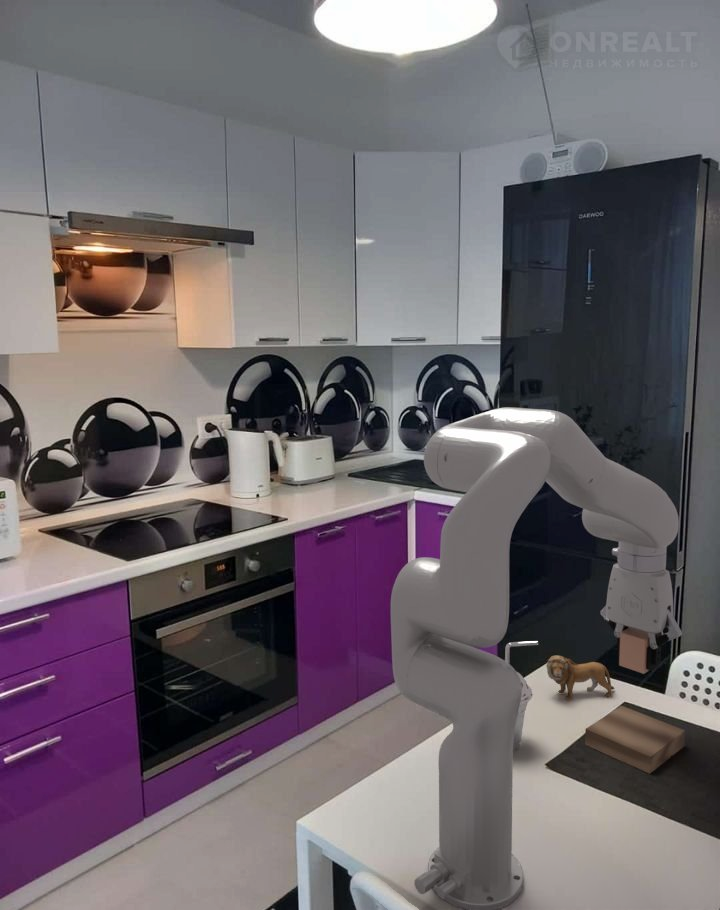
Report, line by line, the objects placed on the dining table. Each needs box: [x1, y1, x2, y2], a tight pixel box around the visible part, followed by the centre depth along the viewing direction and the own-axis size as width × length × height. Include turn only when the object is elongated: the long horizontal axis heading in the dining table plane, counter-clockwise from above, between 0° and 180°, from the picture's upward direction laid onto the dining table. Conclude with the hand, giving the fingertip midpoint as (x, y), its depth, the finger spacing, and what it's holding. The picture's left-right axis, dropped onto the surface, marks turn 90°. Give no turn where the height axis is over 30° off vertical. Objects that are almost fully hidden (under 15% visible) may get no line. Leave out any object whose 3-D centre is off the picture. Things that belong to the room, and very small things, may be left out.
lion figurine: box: [546, 654, 615, 701], centre depth 147 cm, size 15×5×9 cm, turn 103°
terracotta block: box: [618, 627, 650, 675], centre depth 127 cm, size 4×4×6 cm
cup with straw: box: [504, 640, 540, 752], centre depth 129 cm, size 8×9×20 cm
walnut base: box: [584, 705, 686, 775], centre depth 129 cm, size 12×12×3 cm
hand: (638, 661), depth 127 cm, fingers closed on terracotta block, 4 cm apart
